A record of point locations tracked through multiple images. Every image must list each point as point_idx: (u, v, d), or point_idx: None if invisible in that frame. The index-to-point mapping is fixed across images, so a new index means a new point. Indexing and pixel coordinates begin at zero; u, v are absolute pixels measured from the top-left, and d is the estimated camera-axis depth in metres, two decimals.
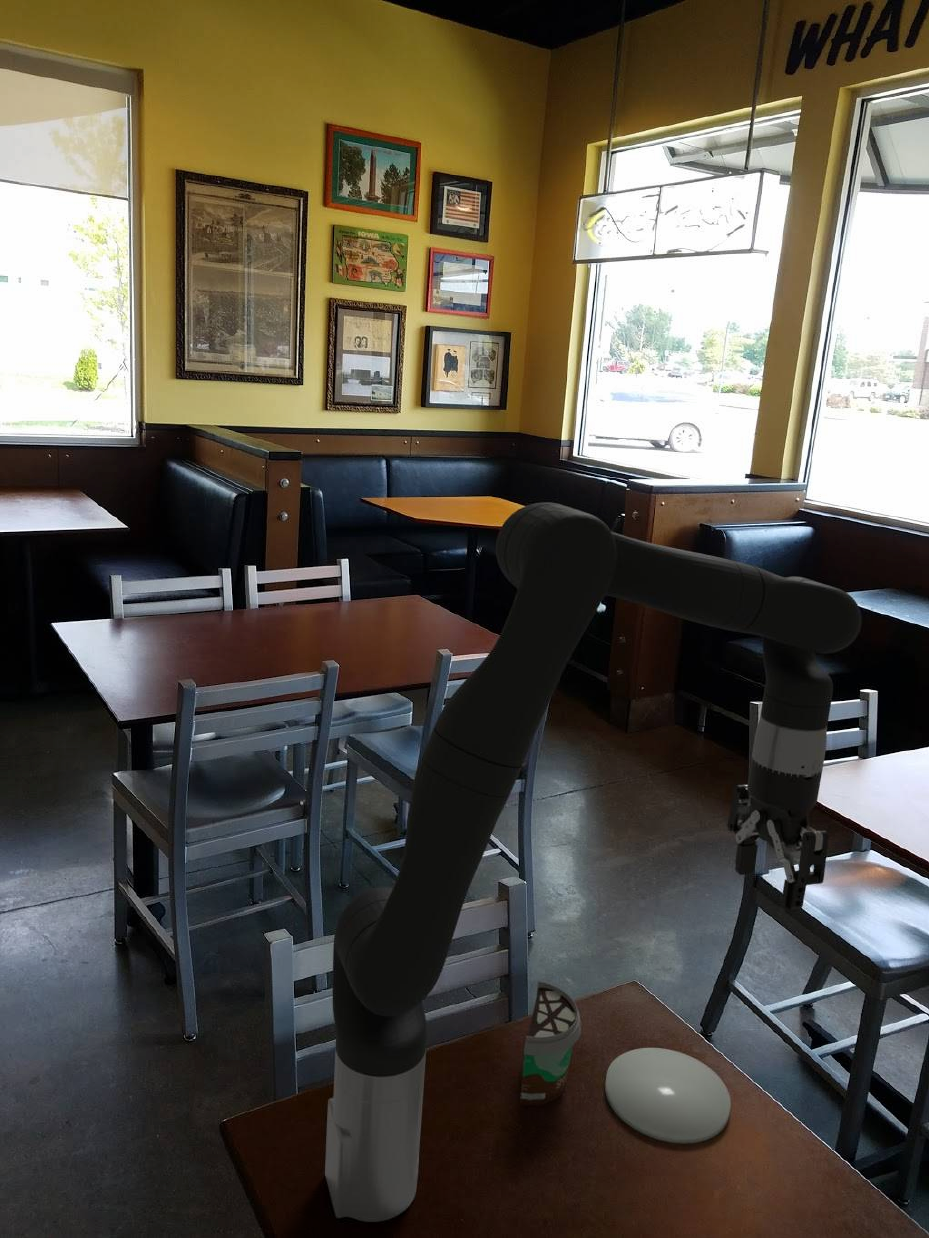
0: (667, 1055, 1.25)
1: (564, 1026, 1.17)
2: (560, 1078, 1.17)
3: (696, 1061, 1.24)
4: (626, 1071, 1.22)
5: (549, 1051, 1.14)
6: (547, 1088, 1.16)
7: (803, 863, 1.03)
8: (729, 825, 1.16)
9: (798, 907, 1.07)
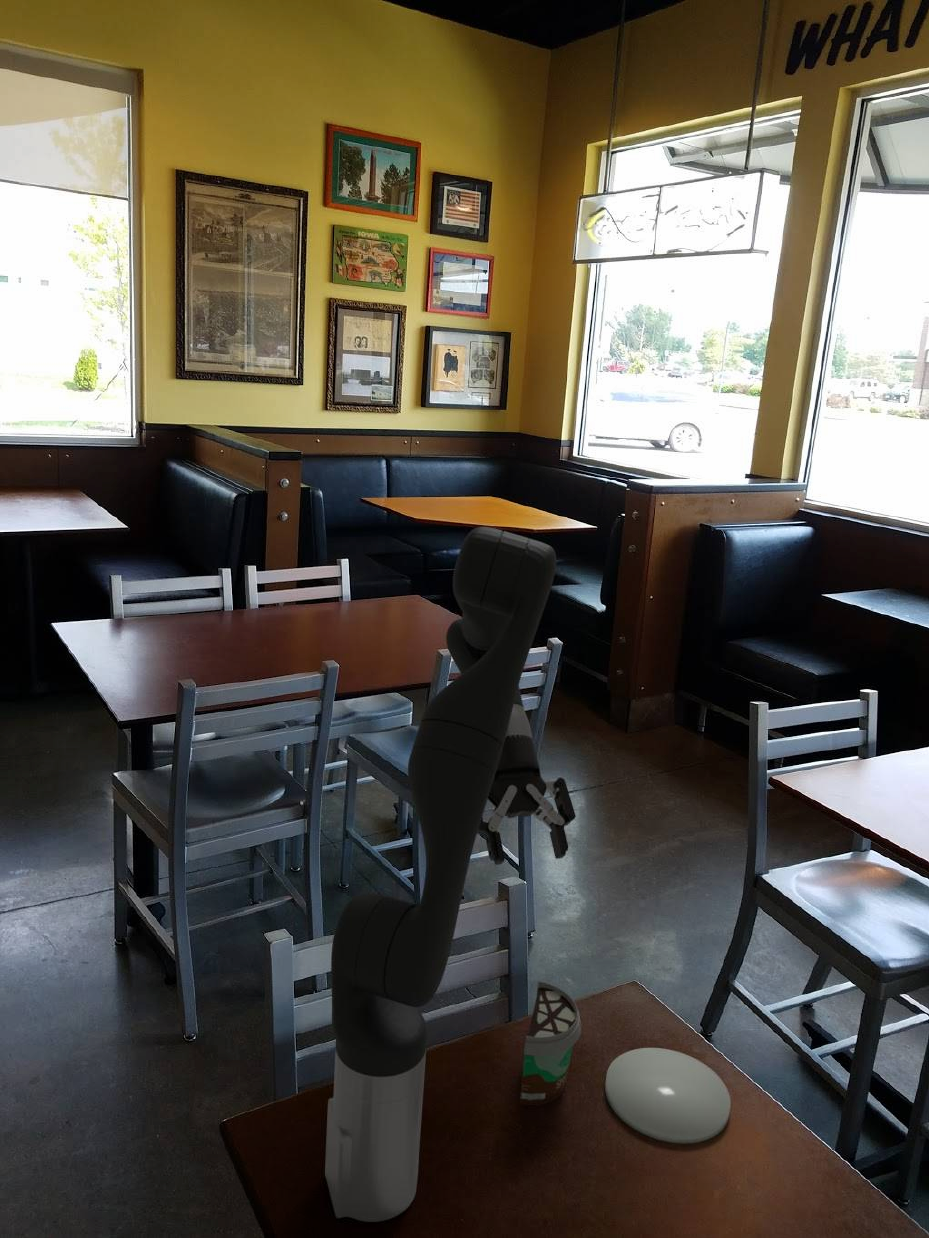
0: (667, 1055, 1.25)
1: (564, 1026, 1.17)
2: (560, 1078, 1.17)
3: (696, 1061, 1.24)
4: (626, 1071, 1.22)
5: (549, 1051, 1.14)
6: (547, 1088, 1.16)
7: (567, 801, 1.30)
8: None
9: None
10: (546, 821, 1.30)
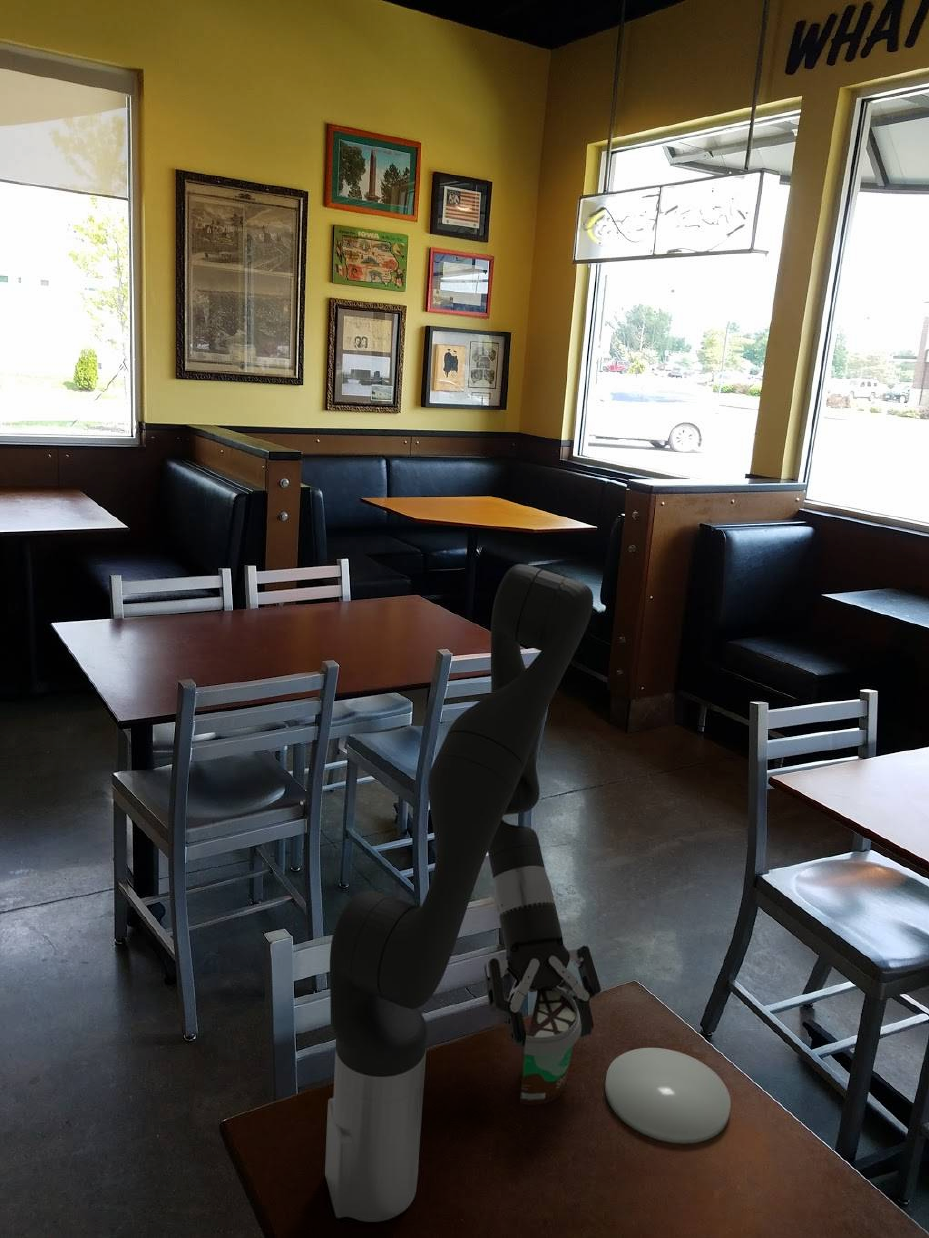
0: (667, 1055, 1.25)
1: (564, 1026, 1.17)
2: (560, 1078, 1.17)
3: (696, 1061, 1.24)
4: (626, 1071, 1.22)
5: (549, 1051, 1.14)
6: (547, 1088, 1.16)
7: (592, 972, 1.23)
8: (499, 1002, 1.18)
9: None
10: (570, 994, 1.23)
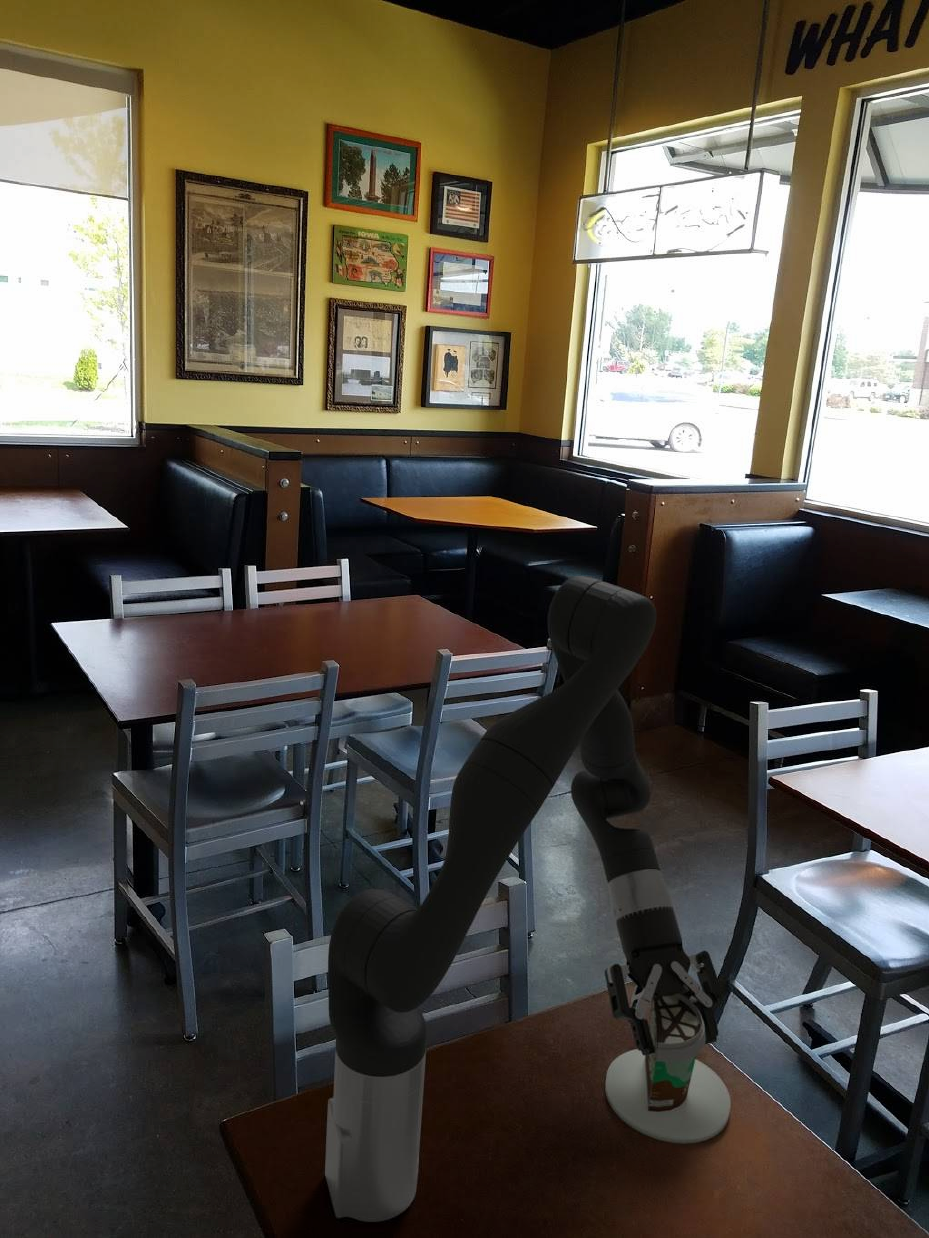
0: None
1: (690, 1031, 1.16)
2: (687, 1083, 1.16)
3: (696, 1061, 1.24)
4: (626, 1071, 1.22)
5: (681, 1057, 1.12)
6: (675, 1094, 1.15)
7: (713, 978, 1.21)
8: (625, 1009, 1.16)
9: None
10: (691, 1000, 1.21)
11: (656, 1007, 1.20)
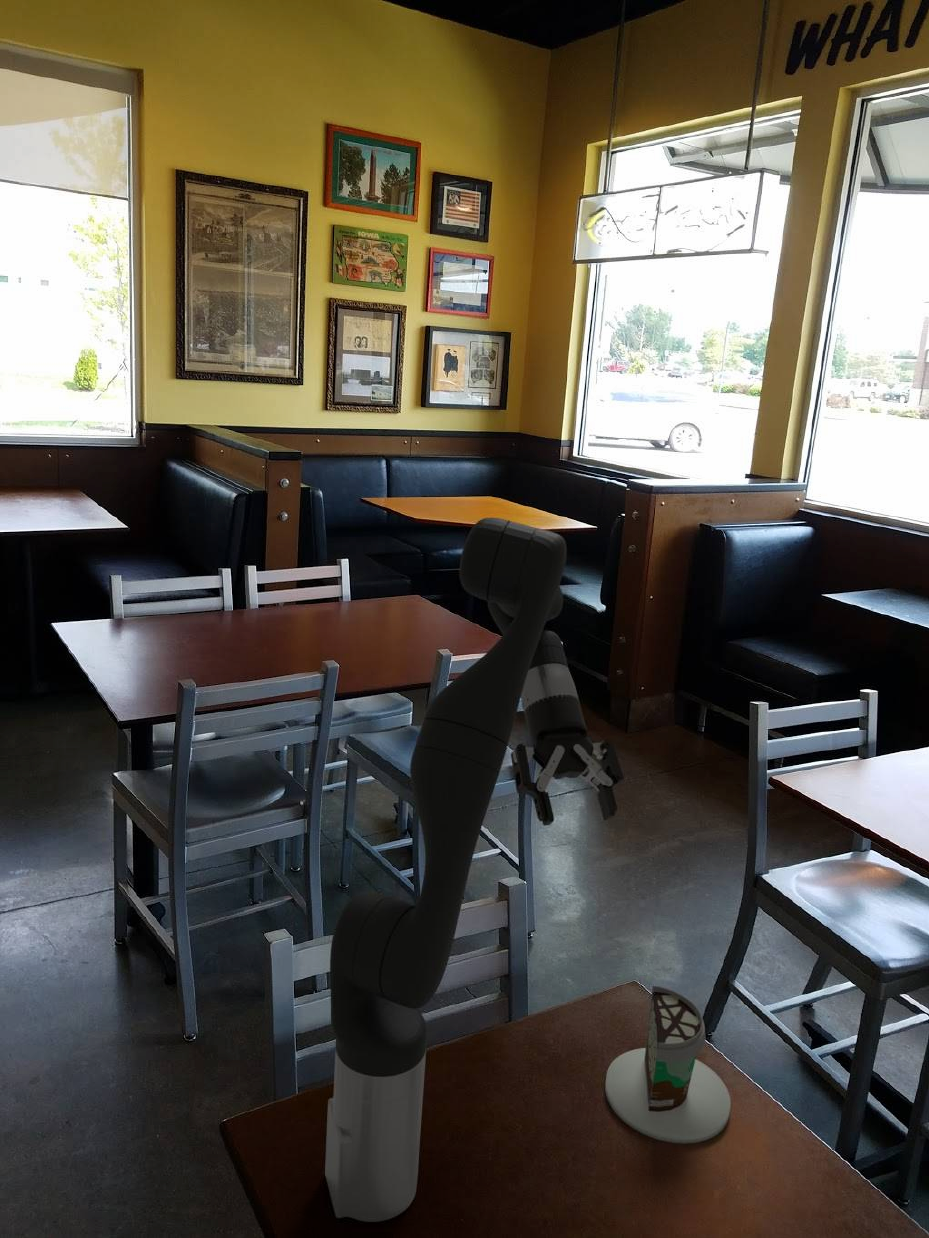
0: None
1: (690, 1031, 1.16)
2: (687, 1083, 1.16)
3: (696, 1061, 1.24)
4: (626, 1071, 1.22)
5: (682, 1057, 1.12)
6: (676, 1094, 1.15)
7: (615, 762, 1.27)
8: (526, 782, 1.22)
9: None
10: (593, 782, 1.27)
11: (656, 1007, 1.20)
